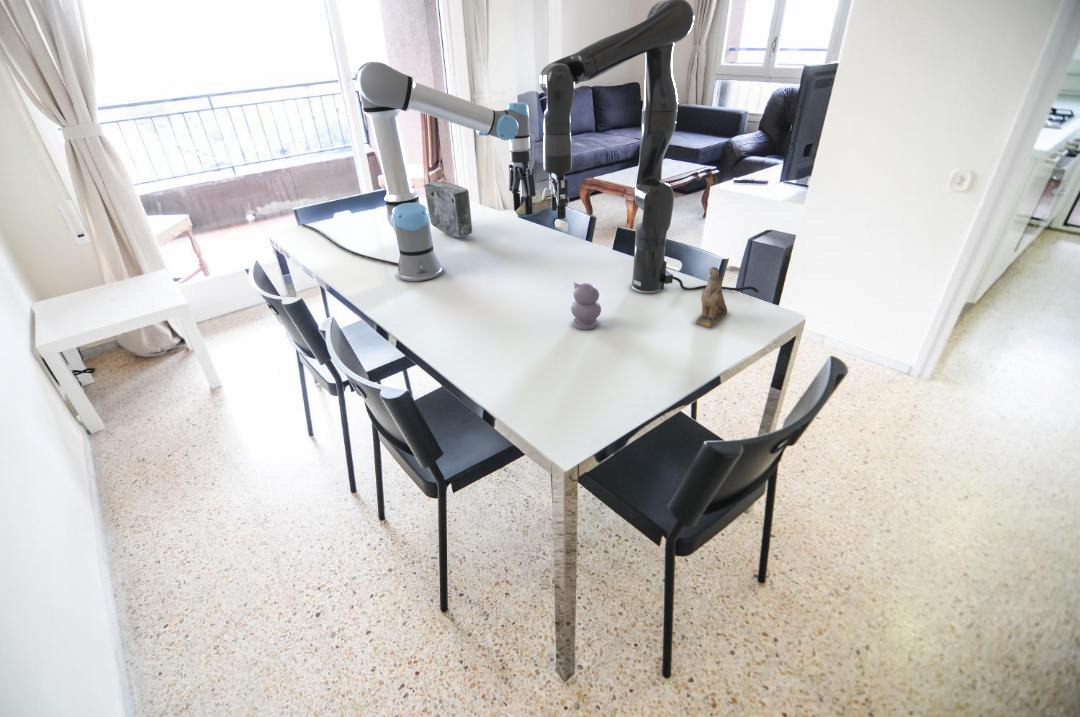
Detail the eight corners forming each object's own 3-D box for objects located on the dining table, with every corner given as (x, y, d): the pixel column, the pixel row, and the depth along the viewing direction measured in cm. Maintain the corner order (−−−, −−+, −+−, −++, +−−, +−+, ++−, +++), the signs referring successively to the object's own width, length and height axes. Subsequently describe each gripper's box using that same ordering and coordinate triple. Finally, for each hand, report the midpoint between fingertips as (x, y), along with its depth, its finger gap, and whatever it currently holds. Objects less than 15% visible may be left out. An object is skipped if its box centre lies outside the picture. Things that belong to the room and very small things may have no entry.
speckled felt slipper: (511, 214, 196) (509, 193, 192) (559, 202, 208) (559, 182, 204) (523, 219, 190) (521, 197, 186) (572, 206, 202) (572, 185, 198)
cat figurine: (606, 323, 139) (608, 283, 132) (589, 334, 134) (589, 293, 128) (582, 314, 144) (583, 276, 138) (564, 324, 139) (564, 285, 133)
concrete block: (477, 239, 207) (472, 190, 196) (458, 244, 202) (452, 193, 192) (448, 225, 225) (442, 179, 215) (430, 229, 221) (423, 182, 210)
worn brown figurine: (709, 335, 136) (713, 280, 124) (691, 329, 139) (693, 274, 128) (730, 313, 142) (736, 258, 130) (712, 307, 145) (716, 253, 133)
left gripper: (544, 151, 177) (546, 216, 189) (513, 145, 191) (517, 205, 203) (527, 154, 173) (529, 219, 185) (496, 148, 188) (501, 209, 200)
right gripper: (577, 155, 124) (577, 220, 133) (566, 147, 136) (566, 206, 145) (548, 157, 123) (549, 222, 132) (539, 148, 135) (541, 208, 144)
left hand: (523, 212), depth 194 cm, fingers closed on speckled felt slipper, 7 cm apart
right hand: (558, 214), depth 138 cm, fingers open, 8 cm apart
